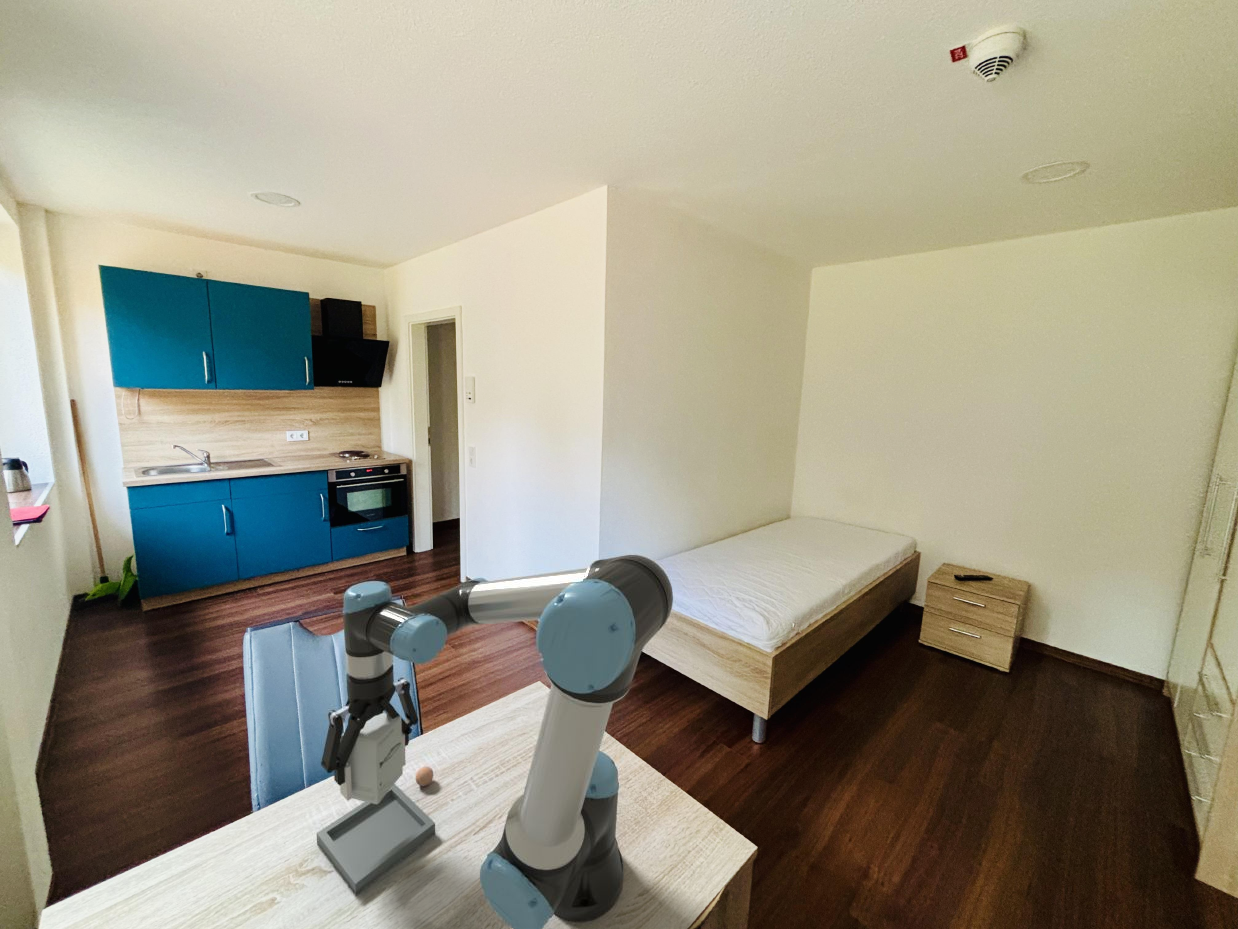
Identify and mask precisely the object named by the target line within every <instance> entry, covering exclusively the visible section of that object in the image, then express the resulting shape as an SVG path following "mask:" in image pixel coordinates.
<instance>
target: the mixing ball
mask: <svg viewBox="0 0 1238 929" xmlns="http://www.w3.org/2000/svg"><path fill="white" fill-rule="evenodd" d="M433 778H434V771H433V769H432V768H431V767H430V766H428V765H427V766H423V767H420V768H418V770H417V771H416V774H415V782H416V784H417V785H419V786H420V787H424V786H427V785H429V784H430V783H431V782H432V780H433Z"/></svg>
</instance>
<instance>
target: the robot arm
mask: <svg viewBox="0 0 1238 929" xmlns="http://www.w3.org/2000/svg"><path fill="white" fill-rule="evenodd" d="M392 598H393V594H392V589H391V586H390V585H389V584H388V583H386V582H384V581H379V580H377V581H376V580H371V581H364V582H360V583H357V584H354V585H352V586H350V587H349V588H347V589H346V591H345V592H344V594H343V610H342V617H343V634H344V646H345V651H344V652H345V653H344V654H345V670H346V675H345V676H346V678H345V679H346V694H347V701H346V703H345V706H344V707H342V708H340V709H338V710H337V711H336V710H335V709H332V710H330V711H329V712H328V714H327V716H328V722H329V724H328V729H327V730H328V731H327V734H326V739H325V743H324V748H323V753H322V757H321V761H320V765H321V767H322V768H323V769H324V770H325V771H326V772H327V773H328V774H331V773H332V772H333V779H334V781H335V783H336V784H337V785H338V786H339V790H340V794H341V795H342V796H343V798H345V800H346V801H347V802H348V801H350V800H352V799H353V798H352V787H351V766H350V765H349V764H348V763H347V761H348V759H349V757H350V754H351V752H352V750H353V747H354V745H355V743H356V740H357V738H358V736H359V733H360V731H361V729H363V728H364V726H365V724H366V721H368V720H370V719H372V718H373V717H374V716H377V715H380V714H382V713H386V714H387V715H389V716H390V717H391V718H392V719H394V718H396V717H398V716H401V715H400V713H398V710H396V709H395V707H394V706H393V705H392V704H391V700H392V698H393V696H394V695H395V692H396V693H397V696H398V698H399V702H400V704H401V707H402V711H403V713H404V714H403V715H404V716H405V719H403V717H402V716H401V723H402V765H403V767H404V766H406V763H407V762H406V761H407V760H406V747H407V746H409V743H410V737H409V736H410V735H411V733H412V732H413V729H412V726H416V725H417V724H418V722H419V718H418V715H417V712H416V708H415V705H414V702H413V699H412V696H411V693H410V692H411V682H410V681H407V680H406V679H405V678H404V677H399V678H398V679H397V681H396V682H395V680H394V679H395V678H394V674H395V673H394V665H393V663H394V656H395V658H398V659H399V660H402V661H406V662H410V663H414V664H416V665H417V664H418V665H424V664H427V663H430V662H431V661H433V660H434V659H435V658H436V657H437V654H439V653H440V652H442V650H443V649H444V647H445V644H446V642H447V638H448V637H450V636H452V635H453V634H455V633H456V632H459V631H460V630H462V629H464V628H466V627H469V626H475V625H478V626H479V625H487V624H502V623H515V622H529V621H538V623H537V626H536V627H537V628H536V634H535V637H536V639H535V641H536V649H537V653H538V654H541V656H542V658H541V660H540V663H541V665H542V668H543V669H544V672H545V675H546V678H547V680H548V682H549V683H550V687H549V688H550V689H549V693H548V696H547V699H546V700H547V701H546V704H545V709H544V712H543V716H542V719H541V720H542V721H541V724H540V727H539V728H540V729H539V733H538V736H537V739H536V743H535V748H534V751H533V752H534V753H533V756H532V759H531V763H530V767H529V772H528V775H527V778H526V779H527V780H526V783H525V786H524V792H523V794H522V795H520V796H519V797H518V798H517V799H516V800H515V801H514V803H513V804H512V806H511V807H510V809H509V811H508V813H507V816H506V820H505V823H504V826H503V828H504V829H503V831H502V835H501V837H500V838H501V839H500V840H499V842H498V843H497V845H496V846H495V848H494V849H493V850H492V851H489V852H488V853H487V855H486V856H487V857H486V858H485V859H484V861H483V863H482V864H481V866H480V870H479V879H480V881H479V882H480V886H481V888H482V891H483V893H484V896H485V897H486V899H487V901H488V904H489V905H490V906H491V908H492V909H493V910H494V912H495V913H496V914H497V915H498V917H499V918H500V919H502V920H503V921H504V923H506V924H507V925H508V926H510V927H511V928H512V929H544V927H545V926H546V924H547V923H548V921H549V920H550V919H552V918H553V917H554V915H556V916H558V917H559V918H562V919H563V920H567V921H572V922H588V921H593V920H595V919H597V918H600V917H602V916H603V915H605V914H606V913H607V912H608V911H610V910H611V909H612V908H613V906H614V905H615V904H616V902H617V901H618V899H619V897H620V895H621V893H622V889H623V886H624V871H625V869H624V868H625V866H624V860H623V856H622V853H621V851H620V848H619V844H618V840H617V838H616V835H617V833H616V830H617V817H618V816H617V815H618V802H619V801H618V797H619V790H620V782H619V772H618V768H617V766H616V763H615V761H614V760H613V759H612V758H611V757H610V755H608V754H607V753H606V752H604V751H601V750H600V748H601V746H602V742H603V739H604V736H605V731H606V728H607V724H608V722H609V718H610V714H611V712H612V709H613V705H614V704H615V703H616V702H618V701H620V700H622V699H623V698H624V697H625V696H626V695H627V694H628V692H629V690H630V688H631V685H632V682H633V678H634V676H635V672H636V670H637V666H638V663H639V660H640V656H641V654H642V651H643V649H644V648H645V646H646V645H647V644H648V643H649V642H650V641H651V639H652V638H653V637H654V636H655V635H656V634H657V633H658V632H659V631H660V630H661V629H662V627H663V626H665V624H666V623H667V621H668V619H669V617H670V615H671V612H672V609H673V604H674V592H673V586H672V583H671V581H670V579H669V576H668V575H667V574H666V572H665V571H664V569H663V568H662V567H661V566H660V565H659V564H658V563H657V562H655V561H654V560H652V559H650V558H648V557H646V556H643V555H638V554H627V555H625V554H624V555H621V556H614V557H609V558H603V559H598V560H594V561H593V562H592V563H591V564H589V566H588V567H587V568H580V569H579V568H578V569H577V568H576V569H570V570H565V571H557V572H549V573H548V572H547V573H542V574H541V573H540V574H534V575H527V576H526V575H525V576H520V577H519V576H518V577H513V578H512V577H510V578H504V579H498V580H497V579H495V580H487V579H485V578H484V577H476V578H473V579H470V580H466V581H464V582H461V583H460V584H458V585H457V586H454V587H452V588H450V589H448V590H446V591H443V592H442V593H439V594H437V595H435V596H433V597H430V598H428V599H426V600H424V601H421V602H419V603H417V604H414V605H413V606H412V605H411V606H406V605H403V604H400V603H398V602H395V601H392V600H393V599H392ZM347 715H349V716H348V719H347V718H346V717H347ZM346 719H347V726H346V728H345V731H344V724H345V723H346ZM343 731H344V732H343ZM343 733H344V735H343V737H342V739H341V736H342V734H343Z"/></svg>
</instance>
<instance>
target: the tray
mask: <svg viewBox="0 0 1238 929" xmlns="http://www.w3.org/2000/svg"><path fill="white" fill-rule="evenodd" d="M434 835H436V822H435V821H434V820H433V819H432V818H430V817H429V816H428V815H427V814H426V812H424V811H423V810H422V809H421V808H420V807H419V806H418V805H417V804H416V803H415V802H414V801H413V800H412V799H411V798H410V797H409V796H408V795H407V794H406V793H405V792H404V791H403V790H402V789H401V788H400V787H398V785H397V784H396V783H395V784H394V785H393V786H392V787H391V788H390V789H389V791H388V792H387V793H386V794H385V796H384V797H383V798H382V800H381V801H380V802H379V803H378V804H373V803H369V802H365V801H363V802H362V803H361V804H360V805H359V804H358V805H357V806H356V807H355V808H352V810H349V811H348V812H347V813H345V814H344V815H342V816H340V817H339V818H338V819H336V820H334V821H333V822H331V823H330V824H328V825H327V826H325V827H324V828H322V829H320V830H319V831H317V832H316V845H317V846H318V847H319V849H320V850H321V851H322V853H323V854H324V856H325V857H326V858H327V860H328V861H329V862H330V864H332V866H333V867H334V869H335V870H336V872H337V873H338V874H339V876H340V877H341V878H342V879H343V880H342V881H343V882H345V883H346V885H347V887H348V888H349V889H350V891H351V892H352V893H353V894H354V895H355V897H357V896H359V895H360V894H361V893H362V892H364V891H365V890H366V889H367V888H369V887H370V886H371V885H373V884H374V883H375V882H377V881H378V880H379V879H380V878H381V877H382V876H384V875H385V874H386V873H388V872H389V871H391V869H392V868H393V869H394V867H395V866H397V865H398V864H399V863H401V862H402V861H403V860H405V858H407V857H408V856H409V855H410V854H412V853H413V852H414V851H416V850H417V849H419V848H420V847H421V846H422V845H423V844H425V843H426V842H427V841H429V840H430V839H431V838H432V837H433V836H434Z"/></svg>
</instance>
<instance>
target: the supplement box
mask: <svg viewBox="0 0 1238 929" xmlns="http://www.w3.org/2000/svg"><path fill="white" fill-rule="evenodd" d="M401 717H402V716H401V715H400V716H398V717H396V718H394V719H392V718H391V717H390V716H389V715H387V714H386V713H385V712H383V713H382V714H380V715H377V716H374V717H373V718H372V719H370V720H368V721H366V724H365V726H364V728H363V729H361V731H360V733H359V736H358V738H357V740H356V743H355V745H354V747H353V750H352V752H351V754H350V757H349V759H348V761H347V763H348V764H349V765H350V766H351V787H352V799H353V800H357V801H361V802H369V803H373V804H378V803H379V802H380V801H381V800H382V798H383V797H384V796H385V794H386V793H387V792H388V791H389V789H390V788H391V787H392V786H393V785H394V784H395V785H396V782H397V781H398V780H399V779H400V778H401V776H403V774H404V773H403V772H404V770H403V769H404V766H403V765H402V723H401ZM343 735H344V732H342V736H341V739H342V737H343Z"/></svg>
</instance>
